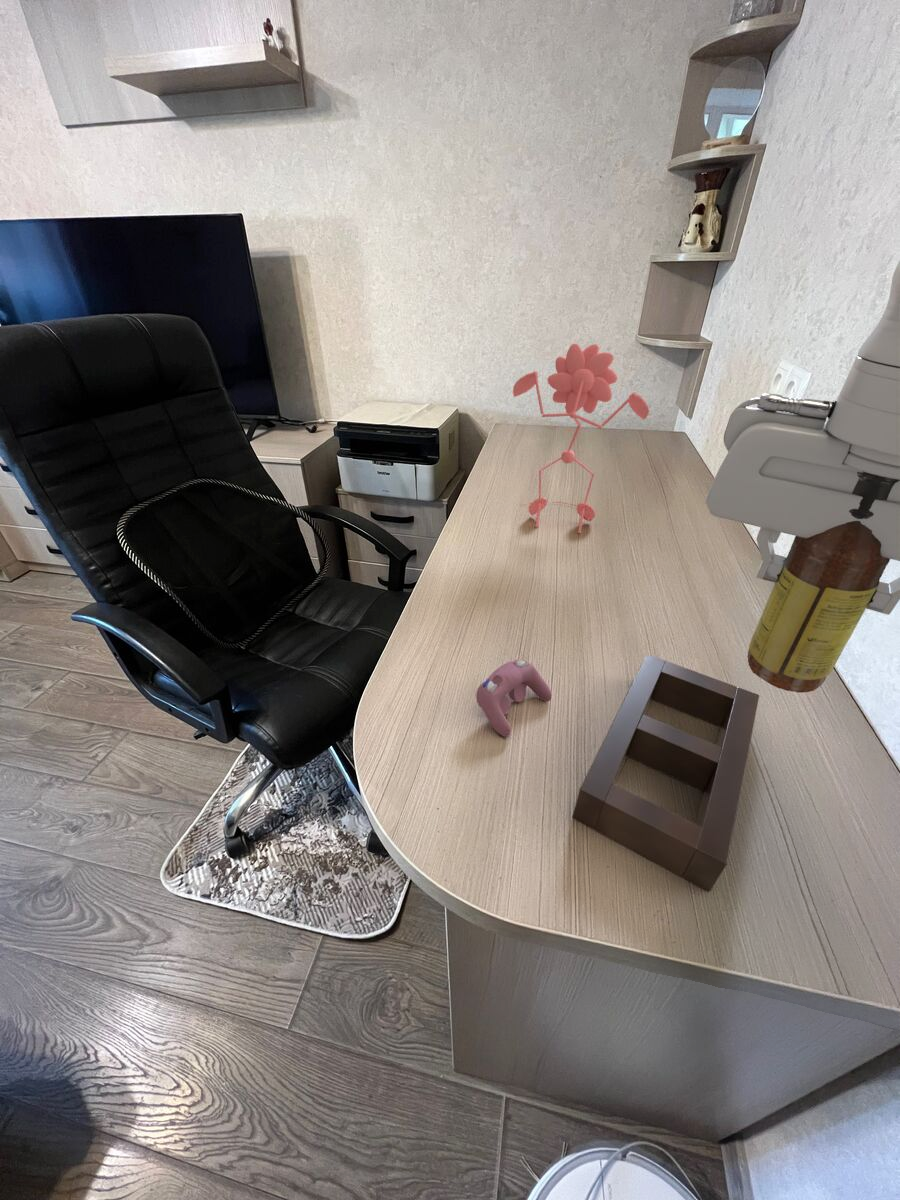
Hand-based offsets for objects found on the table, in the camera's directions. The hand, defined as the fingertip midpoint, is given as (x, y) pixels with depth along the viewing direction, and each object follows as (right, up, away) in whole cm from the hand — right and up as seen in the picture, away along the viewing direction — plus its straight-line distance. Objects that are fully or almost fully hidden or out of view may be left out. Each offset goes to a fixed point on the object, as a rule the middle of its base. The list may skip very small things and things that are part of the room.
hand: (819, 592), depth 40 cm
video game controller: (-21, -15, +25) cm, 36 cm away
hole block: (-4, -20, +18) cm, 27 cm away
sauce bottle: (0, -7, +5) cm, 9 cm away
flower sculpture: (-5, +18, +72) cm, 74 cm away
